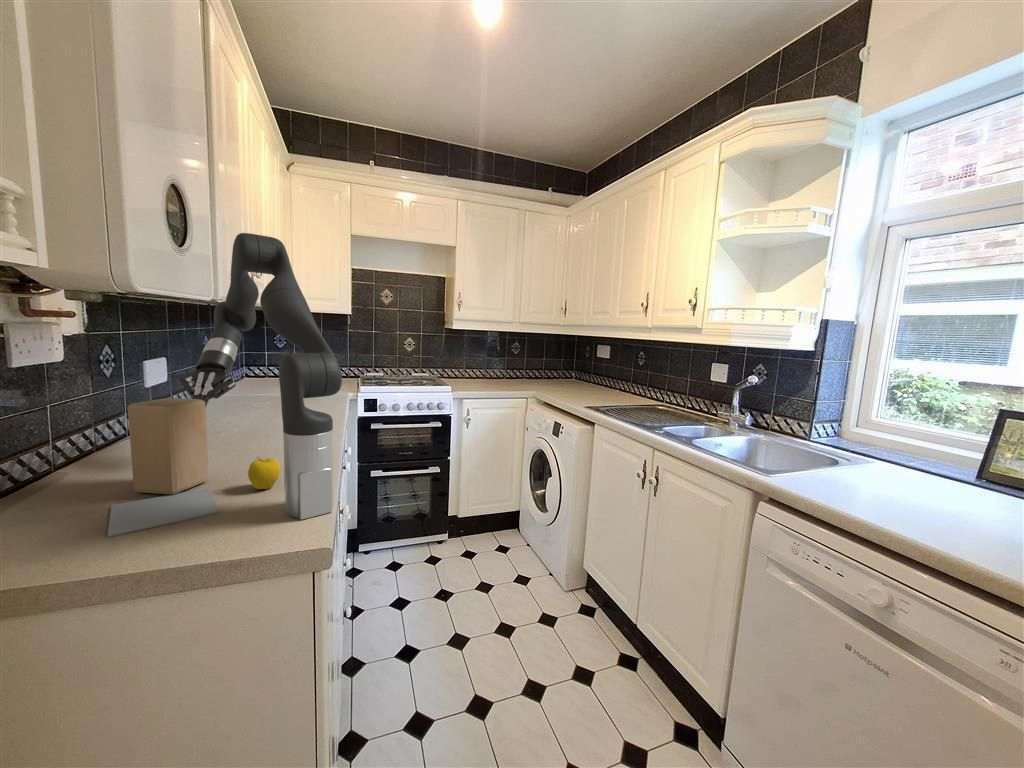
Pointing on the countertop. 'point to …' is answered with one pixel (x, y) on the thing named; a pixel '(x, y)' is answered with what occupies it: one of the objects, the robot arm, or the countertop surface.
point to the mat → (160, 511)
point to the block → (168, 445)
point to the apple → (264, 473)
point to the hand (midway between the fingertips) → (196, 409)
